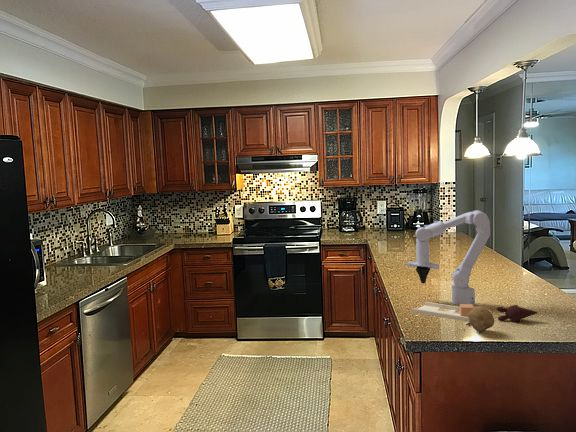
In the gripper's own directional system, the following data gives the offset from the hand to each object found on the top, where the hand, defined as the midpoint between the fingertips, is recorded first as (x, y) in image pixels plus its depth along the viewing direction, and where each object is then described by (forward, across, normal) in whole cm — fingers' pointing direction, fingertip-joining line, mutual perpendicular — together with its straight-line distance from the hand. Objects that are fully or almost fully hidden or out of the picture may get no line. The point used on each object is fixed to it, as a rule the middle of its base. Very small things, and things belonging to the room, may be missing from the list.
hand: (423, 282), depth 222 cm
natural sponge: (+11, -34, +22) cm, 42 cm away
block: (+9, -24, +11) cm, 28 cm away
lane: (+10, -16, +10) cm, 21 cm away
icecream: (+11, -41, +2) cm, 42 cm away
